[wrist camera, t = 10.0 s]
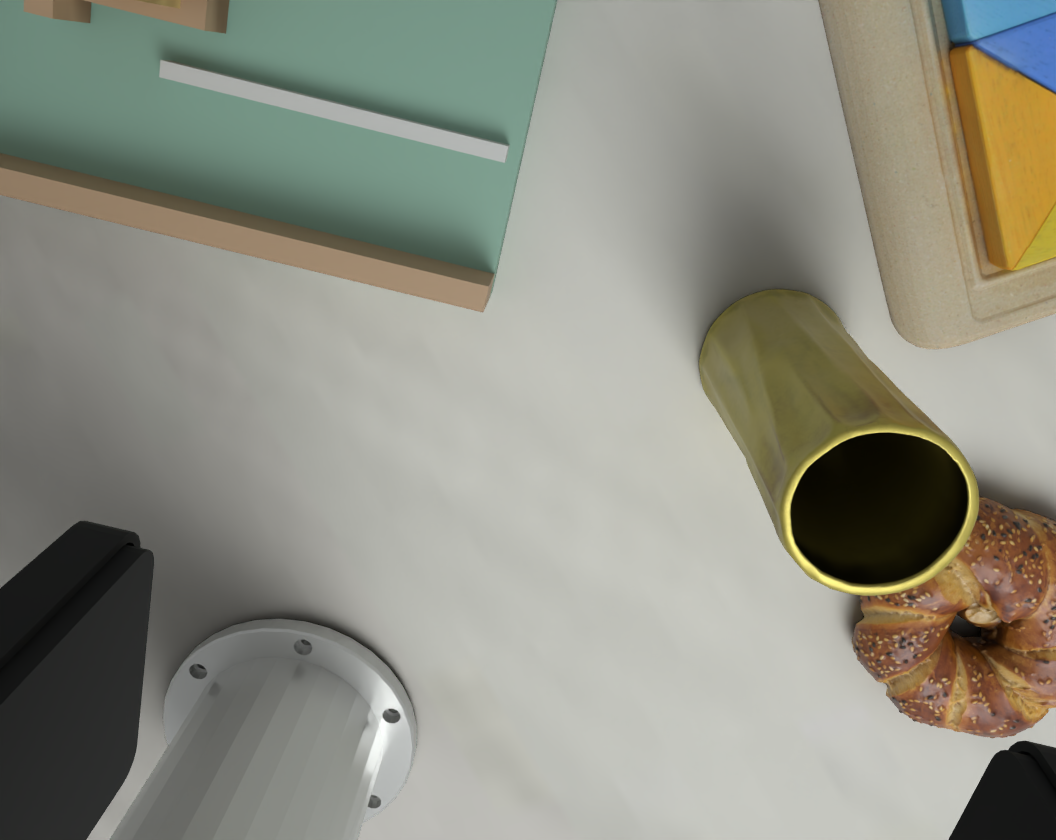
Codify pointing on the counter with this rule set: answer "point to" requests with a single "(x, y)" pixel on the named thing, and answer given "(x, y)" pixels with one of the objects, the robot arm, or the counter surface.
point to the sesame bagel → (982, 600)
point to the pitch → (286, 130)
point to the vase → (836, 447)
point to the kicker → (141, 11)
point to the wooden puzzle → (953, 157)
